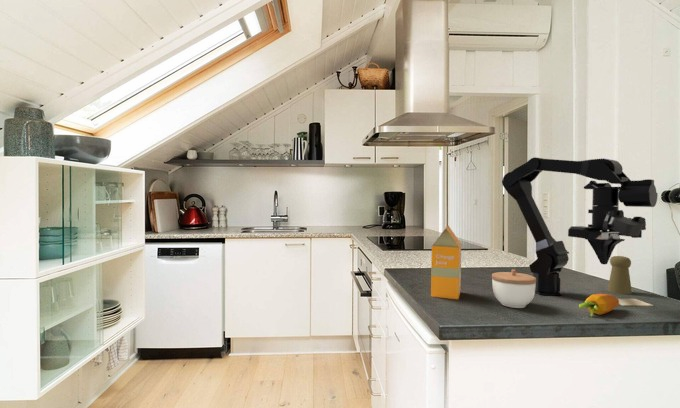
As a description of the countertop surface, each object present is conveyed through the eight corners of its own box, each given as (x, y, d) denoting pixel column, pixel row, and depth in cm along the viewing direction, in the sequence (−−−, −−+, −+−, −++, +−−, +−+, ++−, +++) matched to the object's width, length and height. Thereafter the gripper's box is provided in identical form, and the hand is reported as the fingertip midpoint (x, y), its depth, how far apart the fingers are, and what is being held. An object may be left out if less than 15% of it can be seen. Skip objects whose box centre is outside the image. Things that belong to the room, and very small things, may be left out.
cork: (623, 289, 116) (624, 255, 116) (636, 294, 110) (637, 258, 110) (603, 289, 117) (603, 254, 117) (615, 294, 111) (616, 257, 111)
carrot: (631, 298, 93) (600, 304, 86) (622, 314, 95) (591, 321, 88) (611, 286, 97) (580, 292, 90) (602, 302, 99) (571, 308, 92)
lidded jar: (483, 300, 103) (483, 266, 102) (517, 298, 105) (518, 265, 104) (507, 311, 92) (508, 274, 92) (545, 309, 94) (546, 273, 94)
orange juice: (430, 296, 106) (431, 227, 105) (434, 289, 114) (435, 225, 114) (458, 299, 103) (460, 228, 102) (461, 292, 111) (462, 226, 111)
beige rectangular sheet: (623, 305, 98) (623, 304, 98) (606, 299, 104) (606, 298, 104) (652, 306, 98) (652, 305, 98) (634, 299, 104) (634, 298, 104)
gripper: (606, 206, 88) (604, 271, 89) (664, 207, 93) (662, 268, 93) (567, 205, 99) (565, 263, 99) (621, 206, 104) (619, 261, 104)
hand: (603, 264), depth 99 cm, fingers closed
